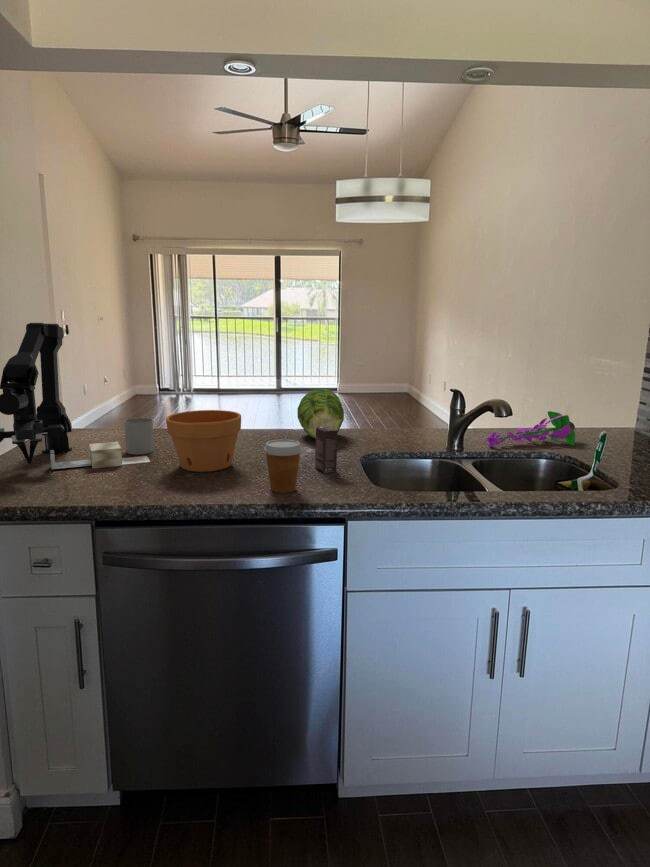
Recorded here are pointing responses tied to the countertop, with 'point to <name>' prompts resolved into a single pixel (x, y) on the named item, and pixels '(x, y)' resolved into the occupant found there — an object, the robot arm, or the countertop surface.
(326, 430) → the box
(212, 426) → the flower pot
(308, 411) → the lettuce
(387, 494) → the countertop surface
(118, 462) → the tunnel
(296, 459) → the disposable coffee cup
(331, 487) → the countertop surface
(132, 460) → the pad
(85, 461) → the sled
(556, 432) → the purple flower
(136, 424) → the cup
